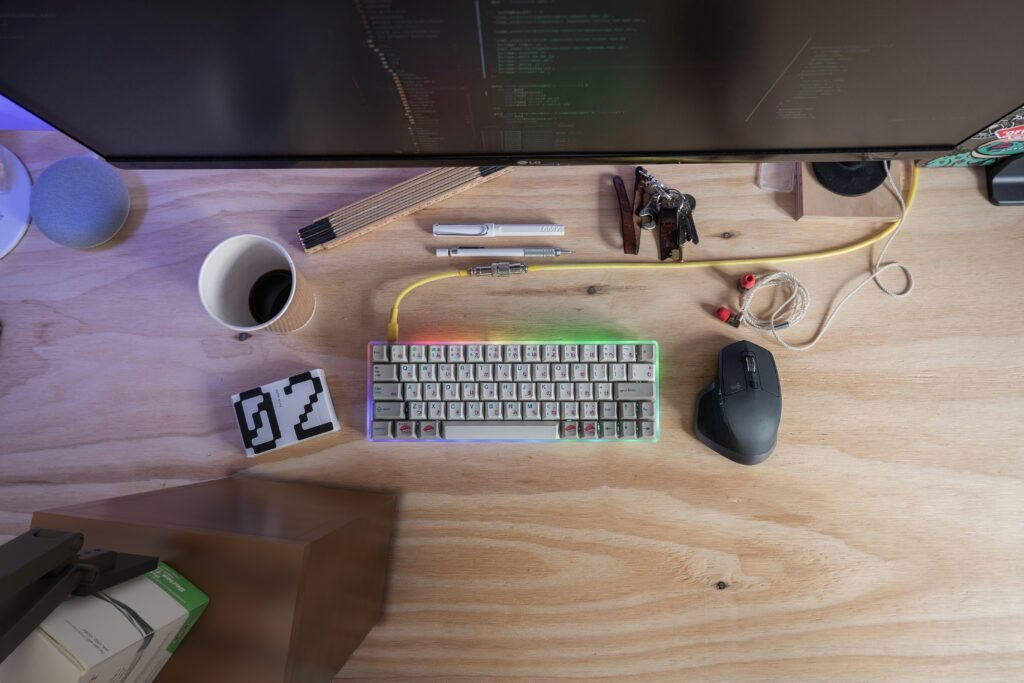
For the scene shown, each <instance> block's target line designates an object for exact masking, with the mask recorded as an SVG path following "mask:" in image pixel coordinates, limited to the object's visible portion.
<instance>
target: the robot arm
mask: <svg viewBox="0 0 1024 683" xmlns="http://www.w3.org/2000/svg"><path fill="white" fill-rule="evenodd" d="M83 544H84V535H83V534H82V533H79V532H71V531H64V530H56V529H48V528H40V527H35V528H33V529H31V530H30V529H28V530H27V531H25V532H23V533H21V534H20V535H17V536H16V537H14V538H12V539H10V540H8V541H6V542H5V543H3V544H1V545H0V664H1V663H2V662H3V661H4V660H5V659H6V658H7V657H8V656H9V655H10V654H11V653H12V652H13V651H14V650H15V649H16V648H17V647H18V646H19V645H20V644H21V643H22V642H23V641H24V640H25V639H26V638H27V637H28V636H29V635H30V634H31V633H32V632H33V631H34V630H35V629H36V628H37V627H38V626H39V625H40V624H41V623H42V622H43V621H44V620H45V619H46V618H47V617H48V616H49V615H50V614H51V613H52V612H53V611H54V610H55V609H56V608H57V607H58V606H59V605H60V604H61V603H62V602H63V601H64V600H65V599H66V598H67V597H68V596H69V595H73V596H80V597H87V596H89V595H92V594H94V593H97V592H99V591H102V590H105V589H107V588H110V587H112V586H115V585H117V584H120V583H123V582H125V581H128V580H130V579H133V578H135V577H138V576H140V575H143V574H146V573H148V572H151V571H153V570H156V569H157V567H158V561H159V557H153V556H145V555H137V554H129V553H122V552H119V553H118V552H116V551H113V550H106V549H99V548H91V547H90V548H87V549H84V550H81V548H82V546H83Z"/></svg>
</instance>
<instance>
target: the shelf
mask: <svg viewBox="0 0 1024 683" xmlns="http://www.w3.org/2000/svg"><path fill="white" fill-rule="evenodd" d="M35 527H40V528H48V529H56V530H64V531H71V532H79V533H82V534H83V535H84V544H83V546H82V548H81V550H84V549H87V548H90V547H91V548H99V549H106V550H113V551H116V552H118V553H119V552H122V553H129V554H137V555H145V556H153V557H159V561H158V562H163V563H165V564H166V565H168V566H169V567H171V568H172V569H173V570H175V571H176V572H178V573H179V574H180V575H182V576H183V577H184V578H186V579H187V580H188V581H189V582H191V583H192V584H193V585H195V586H196V587H197V588H198V589H199V590H201V591H202V592H203V593H204V594H206V595H207V596H208V597H209V598H210V599H209V604H208V605H207V607H206V608H205V610H204V611H203V612H202V614H201V615H200V617H199V618H198V619H197V621H196V622H195V624H194V625H193V626H192V628H191V629H190V630H189V632H188V633H187V635H186V636H185V637H184V639H183V640H182V641H181V643H180V644H179V646H178V647H177V648H176V649H175V651H174V652H173V654H172V655H171V657H170V658H169V659H168V661H167V662H166V664H165V665H164V666H163V668H162V669H161V670H160V672H159V673H158V674H157V676H156V677H155V679H154V680H153V681H152V683H291V676H292V670H293V663H294V657H295V650H296V644H297V637H298V631H299V624H300V617H301V611H302V604H303V598H304V591H305V585H306V578H307V572H308V565H309V559H310V552H311V546H312V542H308V541H301V540H293V539H285V538H277V537H269V536H261V535H253V534H245V533H237V532H229V531H221V530H214V529H206V528H198V527H190V526H182V525H174V524H166V523H158V522H150V521H142V520H134V519H127V518H119V517H111V516H103V515H95V514H87V513H79V512H71V511H63V510H55V509H51V508H45V509H40V510H34V511H33V512H32V516H31V520H30V524H29V530H31V529H33V528H35ZM70 596H73V595H69V596H68V597H70ZM68 597H67V598H68Z"/></svg>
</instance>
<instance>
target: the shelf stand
mask: <svg viewBox="0 0 1024 683" xmlns="http://www.w3.org/2000/svg"><path fill="white" fill-rule="evenodd" d="M396 502H397V495H390V494H383V493H382V494H381V493H374V492H365V491H358V490H357V491H356V490H350V489H349V490H348V489H340V488H332V487H326V486H324V487H323V486H317V485H316V486H315V485H308V484H301V483H293V482H283V481H277V480H276V481H274V480H267V479H259V478H252V477H251V478H250V477H243V476H234V475H233V476H228V477H222V478H216V479H210V480H205V481H200V482H194V483H189V484H182V485H177V486H171V487H166V488H159V489H154V490H148V491H142V492H137V493H131V494H126V495H120V496H115V497H114V496H113V497H108V498H103V499H98V500H92V501H86V502H81V503H74V504H69V505H63V506H57V507H52V508H50V509H55V510H63V511H71V512H79V513H87V514H95V515H103V516H111V517H119V518H127V519H134V520H142V521H150V522H158V523H166V524H174V525H182V526H190V527H198V528H206V529H214V530H221V531H229V532H237V533H245V534H253V535H261V536H269V537H277V538H285V539H293V540H301V541H308V542H312V546H311V552H310V559H309V565H308V572H307V578H306V585H305V591H304V598H303V604H302V611H301V617H300V624H299V631H298V637H297V644H296V650H295V657H294V663H293V670H292V676H291V683H332V682H333V680H334V679H335V678H336V677H337V675H338V674H339V673H340V671H341V670H342V668H343V667H344V666H345V665H346V664H347V662H348V661H349V660H350V658H351V657H352V656H353V654H354V653H355V652H356V650H357V649H358V648H359V647H360V645H361V644H362V643H363V641H364V640H365V639H366V637H367V636H368V635H369V634H370V633H371V631H372V630H373V628H374V627H375V626H376V624H378V622H379V621H380V619H381V613H382V605H383V599H384V590H385V586H386V576H387V570H388V563H389V555H390V549H391V548H390V547H391V540H392V533H393V527H394V518H395V510H396Z"/></svg>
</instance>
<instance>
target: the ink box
mask: <svg viewBox="0 0 1024 683" xmlns="http://www.w3.org/2000/svg"><path fill="white" fill-rule="evenodd" d="M209 599H210V598H209V597H208V596H207V595H206V594H204V593H203V592H202V591H201V590H199V589H198V588H197V587H196V586H195V585H193V584H192V583H191V582H189V581H188V580H187V579H186V578H184V577H183V576H182V575H180V574H179V573H178V572H176V571H175V570H173V569H172V568H171V567H169V566H168V565H166V564H165V563H163V562H158V567H157V569H156V570H153V571H151V572H148V573H146V574H143V575H140V576H138V577H135V578H133V579H130V580H128V581H125V582H123V583H120V584H117V585H115V586H112V587H110V588H107V589H105V590H102V591H99V592H97V593H94V594H92V595H89V596H87V597H80V596H70V597H68V598H66V599H65V600H64V601H63V602H62V603H61V604H60V605H59V606H58V607H57V608H56V609H55V610H54V611H53V612H52V613H51V614H50V615H49V616H48V617H47V618H46V619H45V620H44V621H43V622H42V623H41V624H40V625H39V626H38V627H37V628H36V629H35V630H34V631H33V632H32V633H31V634H30V635H29V636H28V637H27V638H26V639H25V640H24V641H23V642H22V643H21V644H20V645H19V646H18V647H17V648H16V649H15V650H14V651H13V652H12V653H11V654H10V655H9V656H8V657H7V658H6V659H5V660H4V661H3V662H2V663H1V664H0V683H152V681H153V680H154V679H155V677H156V676H157V674H158V673H159V672H160V670H161V669H162V668H163V666H164V665H165V664H166V662H167V661H168V659H169V658H170V657H171V655H172V654H173V652H174V651H175V649H176V648H177V647H178V646H179V644H180V643H181V641H182V640H183V639H184V637H185V636H186V635H187V633H188V632H189V630H190V629H191V628H192V626H193V625H194V624H195V622H196V621H197V619H198V618H199V617H200V615H201V614H202V612H203V611H204V610H205V608H206V607H207V605H208V604H209Z"/></svg>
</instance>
